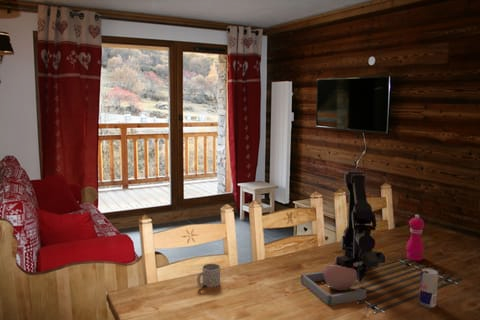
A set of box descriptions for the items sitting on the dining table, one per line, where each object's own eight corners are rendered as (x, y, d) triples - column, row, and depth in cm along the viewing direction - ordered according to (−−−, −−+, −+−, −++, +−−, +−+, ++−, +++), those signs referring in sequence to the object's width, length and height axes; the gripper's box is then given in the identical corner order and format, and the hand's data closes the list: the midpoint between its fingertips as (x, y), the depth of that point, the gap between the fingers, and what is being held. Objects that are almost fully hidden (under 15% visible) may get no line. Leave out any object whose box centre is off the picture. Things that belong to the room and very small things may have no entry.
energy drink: (415, 300, 143) (418, 268, 142) (430, 300, 144) (432, 267, 142) (423, 308, 138) (426, 274, 136) (438, 307, 139) (441, 274, 137)
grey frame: (300, 282, 157) (301, 274, 157) (334, 276, 163) (335, 269, 162) (328, 305, 139) (328, 297, 139) (365, 298, 145) (366, 290, 144)
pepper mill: (424, 261, 179) (428, 217, 176) (407, 260, 180) (410, 216, 177) (420, 255, 186) (424, 212, 183) (404, 254, 187) (407, 211, 184)
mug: (212, 278, 160) (212, 262, 159) (223, 283, 155) (223, 267, 154) (191, 286, 153) (191, 269, 152) (203, 292, 148) (203, 274, 148)
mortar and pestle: (357, 284, 156) (358, 255, 154) (354, 298, 145) (355, 268, 143) (325, 279, 160) (326, 251, 158) (320, 293, 149) (321, 263, 147)
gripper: (353, 252, 142) (351, 294, 144) (396, 245, 148) (394, 286, 151) (335, 241, 152) (333, 281, 154) (376, 236, 159) (374, 274, 161)
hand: (359, 281), depth 155 cm, fingers closed
